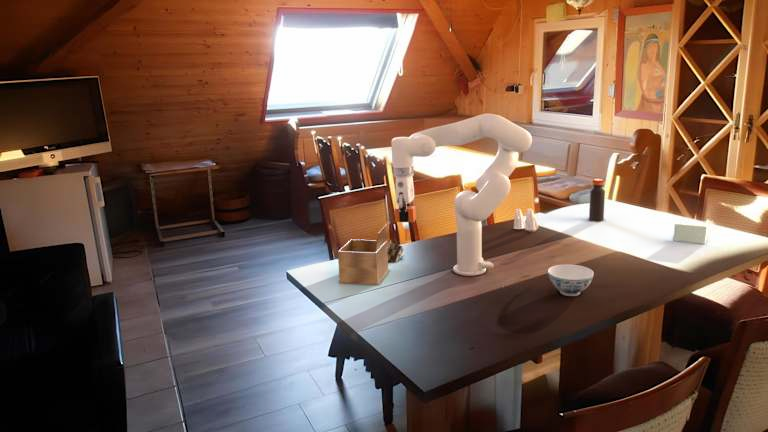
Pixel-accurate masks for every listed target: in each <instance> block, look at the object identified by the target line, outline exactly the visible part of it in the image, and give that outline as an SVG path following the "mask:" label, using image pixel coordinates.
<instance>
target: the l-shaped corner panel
mask: <svg viewBox="0 0 768 432" xmlns="http://www.w3.org/2000/svg"><path fill="white" fill-rule="evenodd" d="M709 227H710V219H706V221H705V223H704V225H698V224H687V223H676V222H675V223H674V230H673V241H674V242H683V243H692V244H701V245H705V244H706V242H707V239H708V236H709V234H708V233H709Z"/></svg>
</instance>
